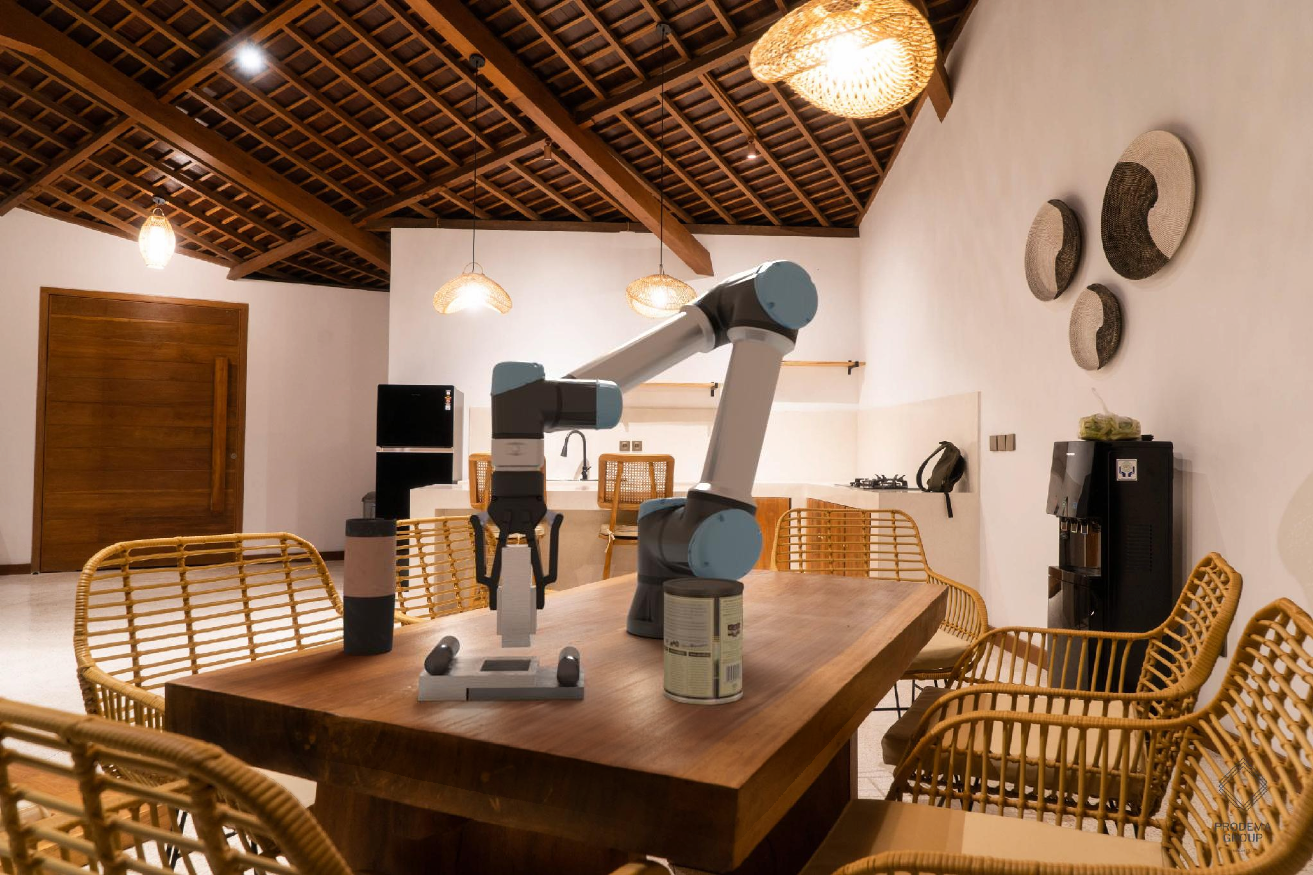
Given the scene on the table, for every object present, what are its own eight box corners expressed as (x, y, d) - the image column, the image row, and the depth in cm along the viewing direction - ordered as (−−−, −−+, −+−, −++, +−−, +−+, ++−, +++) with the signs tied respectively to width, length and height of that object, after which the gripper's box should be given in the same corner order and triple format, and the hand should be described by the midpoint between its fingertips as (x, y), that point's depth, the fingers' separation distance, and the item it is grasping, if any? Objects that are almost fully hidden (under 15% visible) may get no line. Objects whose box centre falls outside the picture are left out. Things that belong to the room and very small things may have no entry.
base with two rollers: (583, 678, 112) (584, 635, 112) (583, 699, 102) (584, 651, 102) (433, 679, 110) (434, 635, 110) (418, 700, 100) (419, 652, 100)
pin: (532, 640, 120) (532, 544, 121) (530, 647, 116) (530, 547, 117) (504, 641, 120) (504, 544, 120) (501, 647, 116) (501, 547, 116)
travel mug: (339, 656, 122) (343, 521, 123) (343, 645, 129) (347, 517, 130) (393, 654, 124) (397, 520, 125) (394, 643, 131) (398, 517, 132)
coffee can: (673, 680, 111) (674, 575, 112) (748, 687, 108) (750, 579, 109) (652, 701, 101) (653, 585, 102) (735, 708, 99) (736, 590, 99)
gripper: (453, 469, 114) (452, 639, 114) (576, 469, 116) (576, 637, 115) (461, 469, 122) (460, 628, 121) (577, 468, 123) (577, 626, 123)
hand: (517, 632), depth 118 cm, fingers closed on pin, 4 cm apart
